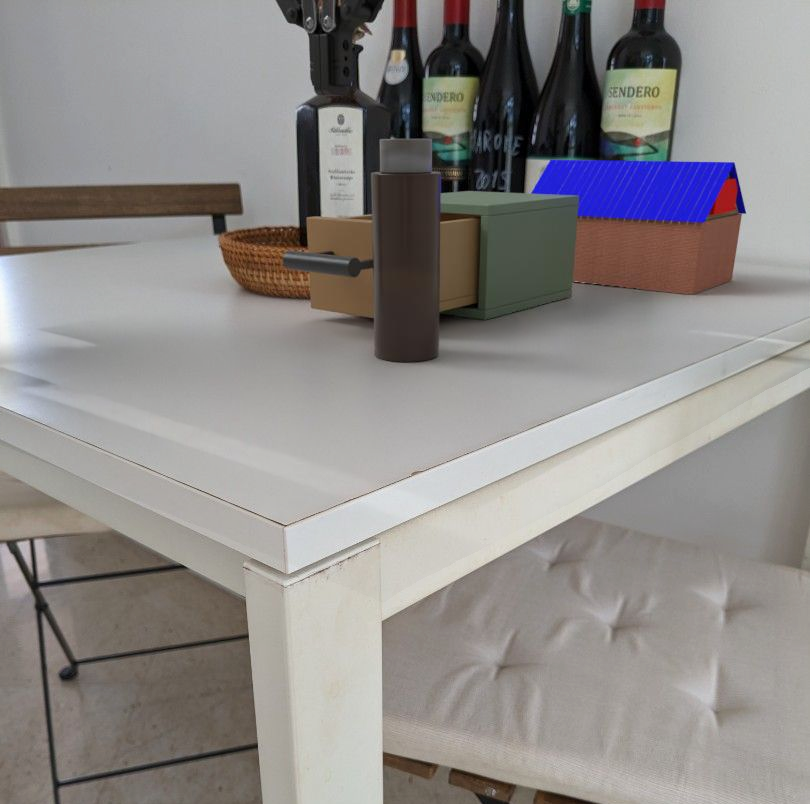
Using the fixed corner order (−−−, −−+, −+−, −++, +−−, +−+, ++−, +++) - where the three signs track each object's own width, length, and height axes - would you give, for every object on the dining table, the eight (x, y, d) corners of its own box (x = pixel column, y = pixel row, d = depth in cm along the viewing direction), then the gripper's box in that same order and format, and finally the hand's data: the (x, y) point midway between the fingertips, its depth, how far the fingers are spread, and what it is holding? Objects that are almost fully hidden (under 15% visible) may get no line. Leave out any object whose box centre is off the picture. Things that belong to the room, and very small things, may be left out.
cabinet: (485, 320, 72) (489, 205, 68) (373, 303, 80) (371, 199, 76) (571, 296, 83) (579, 195, 79) (465, 284, 90) (468, 190, 86)
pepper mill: (361, 355, 61) (355, 139, 55) (402, 344, 64) (401, 138, 58) (411, 365, 58) (410, 139, 52) (451, 353, 62) (455, 138, 56)
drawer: (372, 335, 63) (370, 230, 60) (267, 317, 69) (260, 221, 66) (510, 300, 76) (514, 212, 73) (410, 288, 82) (410, 206, 79)
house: (568, 264, 103) (576, 158, 98) (735, 279, 92) (754, 160, 86) (516, 277, 94) (522, 161, 89) (694, 295, 83) (712, 164, 78)
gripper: (208, -211, 55) (230, 94, 62) (364, -261, 47) (367, 93, 55) (292, -181, 60) (303, 97, 68) (445, -222, 53) (437, 96, 60)
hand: (332, 94), depth 61 cm, fingers closed
